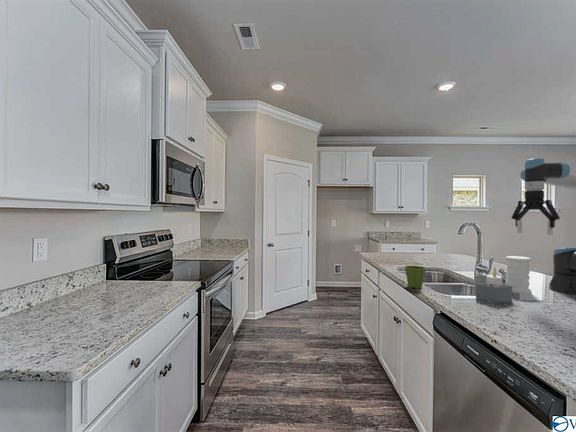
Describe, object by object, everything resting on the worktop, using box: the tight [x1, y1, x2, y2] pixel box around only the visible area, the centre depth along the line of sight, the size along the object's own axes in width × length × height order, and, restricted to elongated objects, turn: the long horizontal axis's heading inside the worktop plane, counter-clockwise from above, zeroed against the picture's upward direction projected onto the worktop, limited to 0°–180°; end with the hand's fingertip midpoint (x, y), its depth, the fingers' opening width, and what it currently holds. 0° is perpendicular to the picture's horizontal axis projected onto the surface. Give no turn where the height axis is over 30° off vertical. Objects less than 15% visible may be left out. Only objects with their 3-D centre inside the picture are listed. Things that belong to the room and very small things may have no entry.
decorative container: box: [505, 255, 532, 295], centre depth 171 cm, size 12×12×18 cm
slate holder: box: [475, 283, 513, 304], centre depth 154 cm, size 11×10×7 cm
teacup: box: [473, 274, 505, 287], centre depth 172 cm, size 14×11×8 cm
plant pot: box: [404, 265, 427, 290], centre depth 181 cm, size 12×12×11 cm
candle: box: [486, 266, 503, 288], centre depth 154 cm, size 6×6×15 cm
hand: (534, 233), depth 157 cm, fingers open, 13 cm apart
